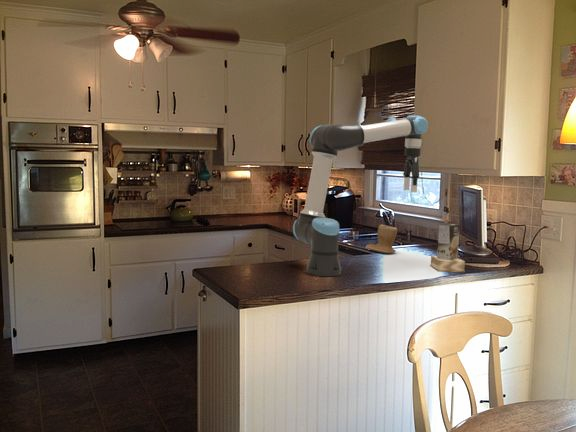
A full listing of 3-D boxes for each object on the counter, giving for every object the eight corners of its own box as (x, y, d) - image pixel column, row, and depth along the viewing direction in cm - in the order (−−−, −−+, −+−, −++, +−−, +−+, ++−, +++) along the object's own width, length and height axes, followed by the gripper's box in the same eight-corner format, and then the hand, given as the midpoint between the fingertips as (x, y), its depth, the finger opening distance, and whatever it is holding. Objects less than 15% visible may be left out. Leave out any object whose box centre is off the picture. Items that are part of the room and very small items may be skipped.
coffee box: (449, 260, 253) (452, 225, 252) (436, 258, 257) (438, 224, 256) (457, 258, 260) (460, 224, 259) (444, 256, 264) (447, 222, 263)
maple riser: (438, 271, 252) (438, 260, 252) (429, 266, 265) (430, 255, 264) (464, 272, 253) (465, 261, 253) (455, 266, 265) (456, 256, 265)
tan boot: (400, 253, 297) (402, 225, 295) (385, 255, 289) (387, 227, 288) (379, 249, 308) (380, 222, 307) (364, 250, 301) (366, 223, 299)
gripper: (427, 147, 258) (424, 193, 260) (413, 148, 282) (410, 189, 285) (412, 147, 257) (409, 192, 260) (398, 147, 282) (396, 189, 284)
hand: (409, 191), depth 272 cm, fingers open, 13 cm apart
